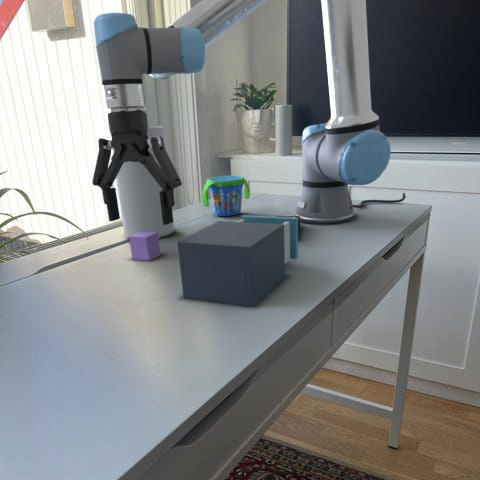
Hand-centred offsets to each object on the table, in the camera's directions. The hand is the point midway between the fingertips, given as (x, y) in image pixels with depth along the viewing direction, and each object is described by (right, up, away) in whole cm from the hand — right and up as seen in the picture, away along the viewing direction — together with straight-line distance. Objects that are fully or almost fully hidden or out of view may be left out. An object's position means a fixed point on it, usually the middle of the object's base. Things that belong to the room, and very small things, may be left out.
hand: (140, 221), depth 99 cm
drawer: (+25, -9, -7) cm, 28 cm away
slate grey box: (+20, -15, -17) cm, 30 cm away
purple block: (+1, -7, +3) cm, 8 cm away
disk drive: (+30, 0, +15) cm, 33 cm away
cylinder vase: (-2, +1, +22) cm, 22 cm away
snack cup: (+17, +10, +39) cm, 43 cm away
